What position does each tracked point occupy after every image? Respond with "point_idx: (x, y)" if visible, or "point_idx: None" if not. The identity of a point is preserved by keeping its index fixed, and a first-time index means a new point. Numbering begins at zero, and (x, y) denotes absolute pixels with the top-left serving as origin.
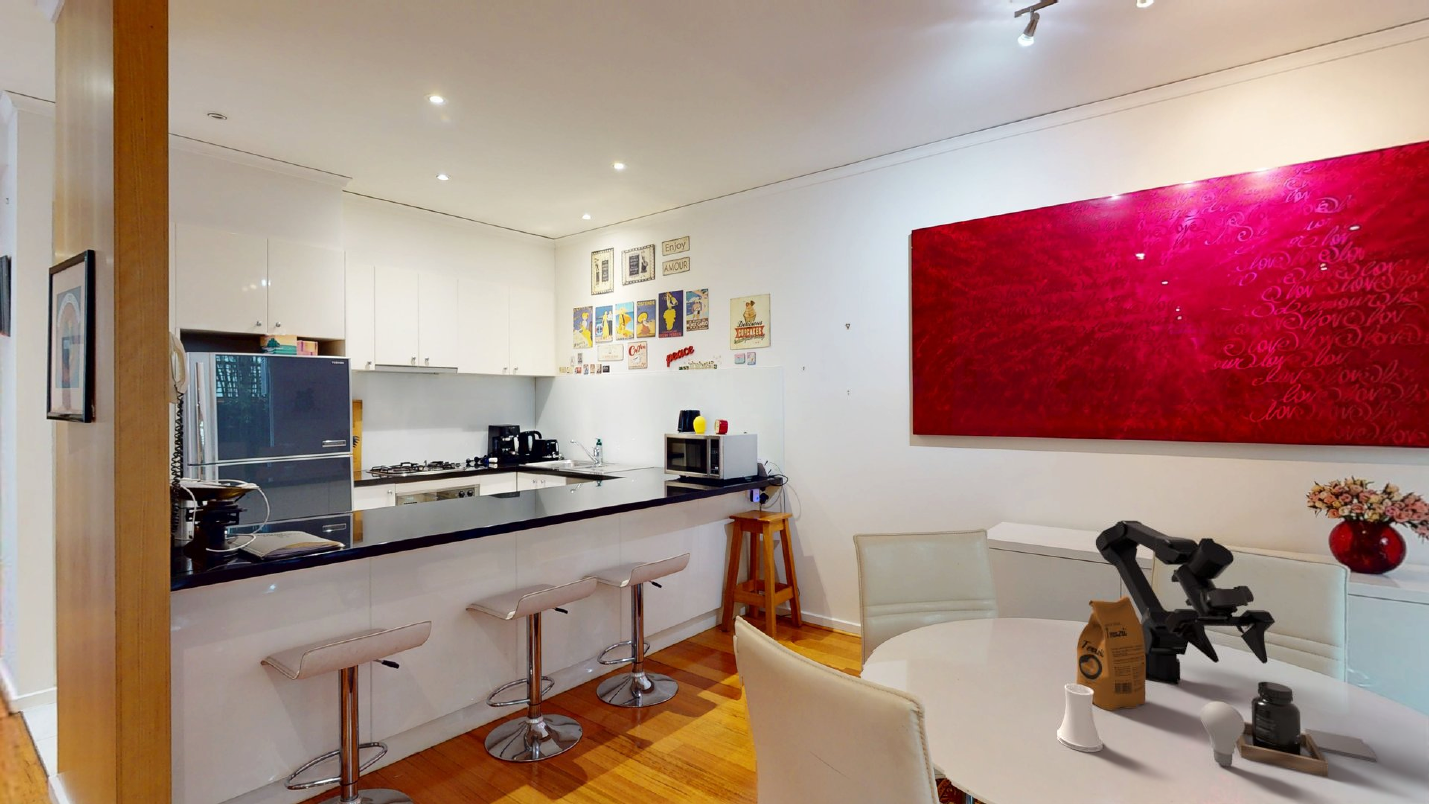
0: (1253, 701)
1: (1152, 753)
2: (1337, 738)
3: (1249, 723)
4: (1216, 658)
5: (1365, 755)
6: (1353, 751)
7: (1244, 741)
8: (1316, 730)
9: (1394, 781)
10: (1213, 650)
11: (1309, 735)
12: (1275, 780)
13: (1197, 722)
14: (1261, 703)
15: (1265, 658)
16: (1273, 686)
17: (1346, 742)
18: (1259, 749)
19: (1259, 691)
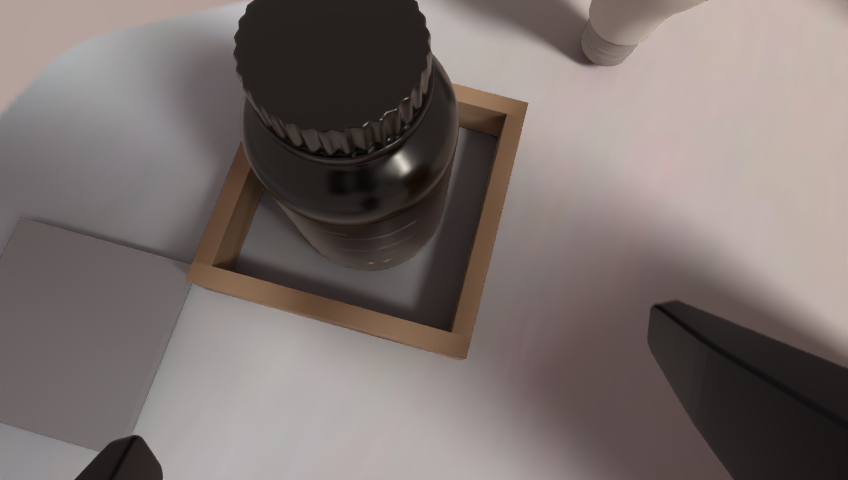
0: (454, 123)
1: (802, 77)
2: (39, 374)
3: (400, 328)
4: (684, 304)
5: (44, 233)
6: (67, 255)
7: (502, 135)
8: (76, 444)
9: (86, 92)
10: (749, 354)
11: (192, 270)
12: (474, 6)
13: (576, 407)
14: (437, 68)
15: (113, 455)
16: (344, 38)
17: (30, 340)
18: (472, 89)
19: (430, 73)
